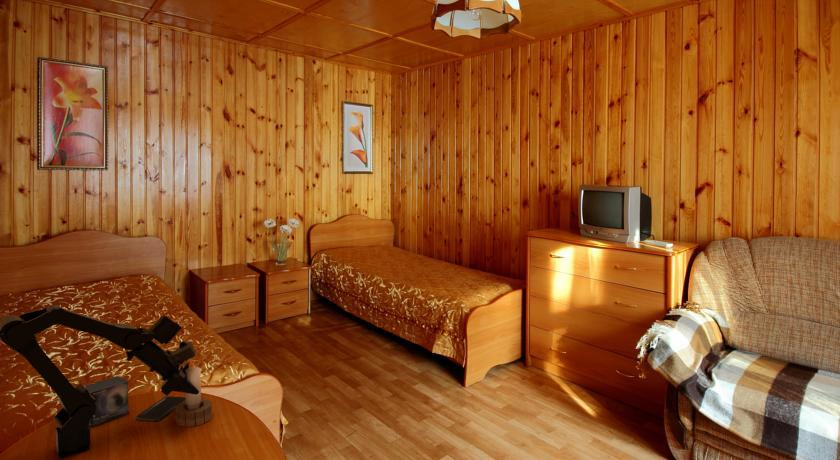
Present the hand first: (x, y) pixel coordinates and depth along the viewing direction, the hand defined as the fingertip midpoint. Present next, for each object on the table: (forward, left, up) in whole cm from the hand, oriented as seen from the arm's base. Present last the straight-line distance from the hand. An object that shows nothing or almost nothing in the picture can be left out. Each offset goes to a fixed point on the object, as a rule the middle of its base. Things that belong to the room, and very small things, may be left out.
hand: (198, 390), depth 143 cm
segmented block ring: (-1, +1, -8) cm, 9 cm away
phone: (-6, +13, -9) cm, 17 cm away
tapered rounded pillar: (-1, +1, -7) cm, 7 cm away
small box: (-20, +18, -9) cm, 28 cm away
